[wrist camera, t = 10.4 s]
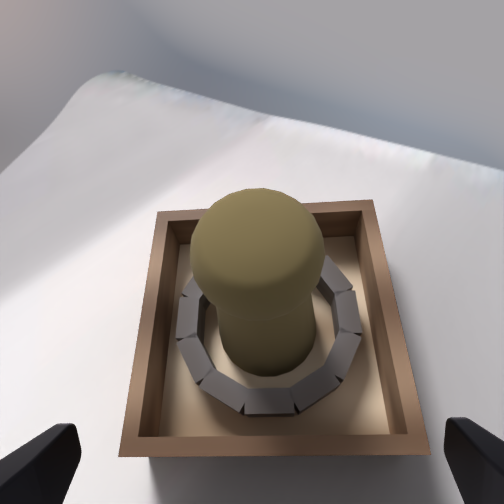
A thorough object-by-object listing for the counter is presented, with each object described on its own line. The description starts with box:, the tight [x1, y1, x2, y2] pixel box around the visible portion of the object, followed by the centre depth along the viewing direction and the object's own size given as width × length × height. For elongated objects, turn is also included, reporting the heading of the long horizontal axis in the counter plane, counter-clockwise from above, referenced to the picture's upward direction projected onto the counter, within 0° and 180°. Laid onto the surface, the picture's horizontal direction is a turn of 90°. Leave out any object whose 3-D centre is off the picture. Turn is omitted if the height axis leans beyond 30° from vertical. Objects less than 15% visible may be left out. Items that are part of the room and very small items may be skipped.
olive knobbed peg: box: [190, 188, 325, 377], centre depth 17 cm, size 6×6×11 cm
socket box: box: [118, 200, 431, 457], centre depth 21 cm, size 14×14×4 cm
